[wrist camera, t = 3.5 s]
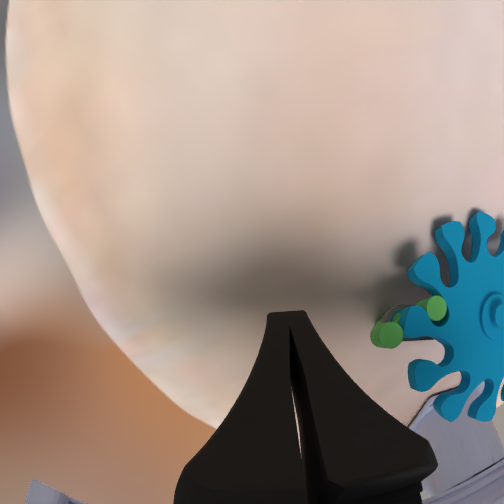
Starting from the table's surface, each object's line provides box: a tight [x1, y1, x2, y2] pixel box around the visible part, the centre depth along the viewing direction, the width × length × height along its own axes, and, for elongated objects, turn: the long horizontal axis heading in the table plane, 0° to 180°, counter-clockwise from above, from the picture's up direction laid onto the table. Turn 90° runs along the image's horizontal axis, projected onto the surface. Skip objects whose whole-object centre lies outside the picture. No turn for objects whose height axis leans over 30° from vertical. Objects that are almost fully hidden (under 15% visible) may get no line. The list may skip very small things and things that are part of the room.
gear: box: [370, 212, 504, 422], centre depth 12 cm, size 11×6×10 cm
